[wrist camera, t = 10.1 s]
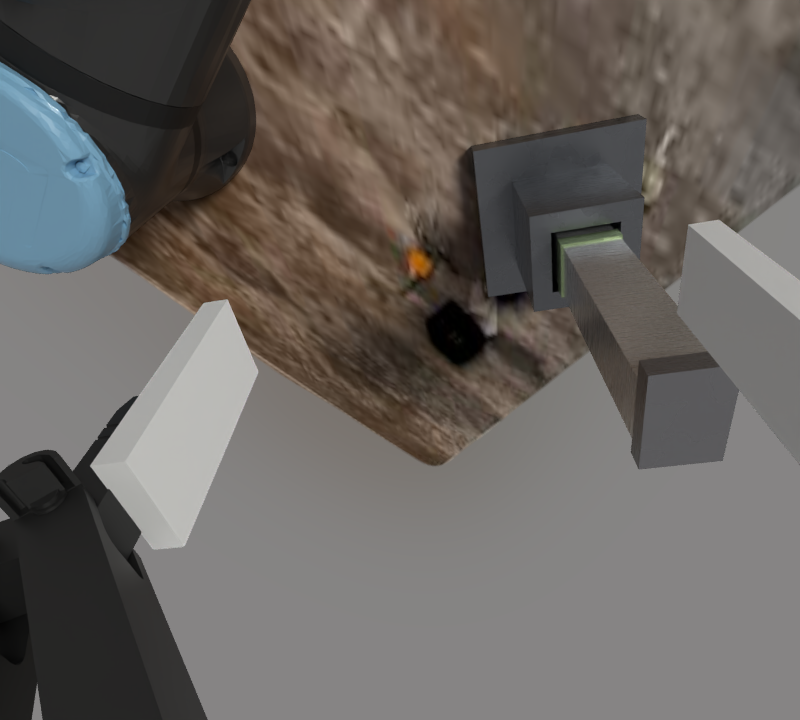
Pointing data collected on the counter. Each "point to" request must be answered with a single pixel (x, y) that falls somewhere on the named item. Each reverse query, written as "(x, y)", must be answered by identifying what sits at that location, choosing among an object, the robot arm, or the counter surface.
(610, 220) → the stand base
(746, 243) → the robot arm
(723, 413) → the grey rectangular bar
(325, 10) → the counter surface
